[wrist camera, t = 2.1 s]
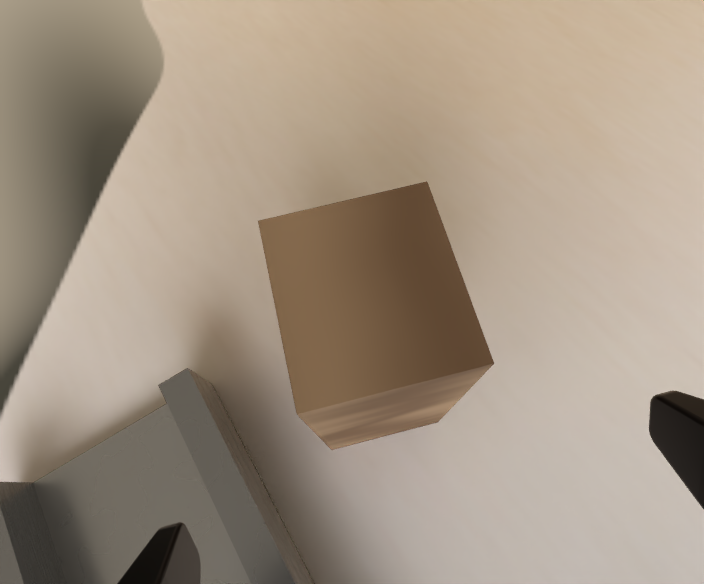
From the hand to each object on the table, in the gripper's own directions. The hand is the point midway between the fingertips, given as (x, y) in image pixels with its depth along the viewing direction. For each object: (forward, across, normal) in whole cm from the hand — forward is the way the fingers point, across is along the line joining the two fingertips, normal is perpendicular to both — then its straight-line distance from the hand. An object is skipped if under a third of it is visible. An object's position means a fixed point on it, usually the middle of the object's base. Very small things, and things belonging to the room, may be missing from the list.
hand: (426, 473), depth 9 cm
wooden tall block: (+11, 0, +5) cm, 12 cm away
